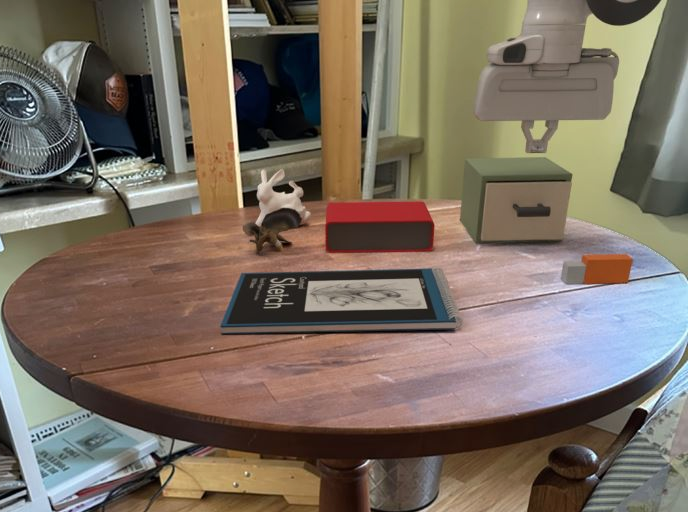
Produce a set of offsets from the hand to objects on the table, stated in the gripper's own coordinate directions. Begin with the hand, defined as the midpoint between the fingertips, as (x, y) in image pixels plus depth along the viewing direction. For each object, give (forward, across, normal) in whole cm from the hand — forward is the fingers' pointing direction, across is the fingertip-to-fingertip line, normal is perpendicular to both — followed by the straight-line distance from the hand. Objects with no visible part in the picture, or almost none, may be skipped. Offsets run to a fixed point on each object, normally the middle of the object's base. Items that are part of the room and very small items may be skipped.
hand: (535, 152), depth 109 cm
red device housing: (+15, +24, -6) cm, 29 cm away
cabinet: (+15, 0, -12) cm, 19 cm away
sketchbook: (+15, +31, +26) cm, 43 cm away
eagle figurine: (+15, +42, -2) cm, 44 cm away
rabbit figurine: (+15, +42, -19) cm, 48 cm away
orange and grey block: (+14, -6, +18) cm, 24 cm away
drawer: (+14, 0, -7) cm, 15 cm away
